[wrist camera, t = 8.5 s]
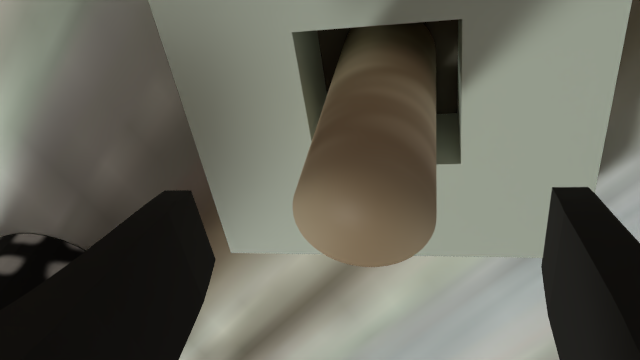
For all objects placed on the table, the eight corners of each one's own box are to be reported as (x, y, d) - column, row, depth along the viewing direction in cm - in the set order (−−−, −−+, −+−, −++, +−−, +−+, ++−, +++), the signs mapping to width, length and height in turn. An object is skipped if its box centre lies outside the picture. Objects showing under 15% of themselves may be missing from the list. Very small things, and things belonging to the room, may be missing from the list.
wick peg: (435, 5, 16) (434, 154, 10) (436, 94, 18) (437, 268, 12) (337, 14, 17) (280, 158, 11) (348, 99, 19) (304, 265, 12)
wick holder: (625, -198, 13) (668, -191, 10) (564, 199, 20) (582, 258, 17) (161, -127, 15) (112, -108, 13) (252, 201, 22) (231, 252, 20)
